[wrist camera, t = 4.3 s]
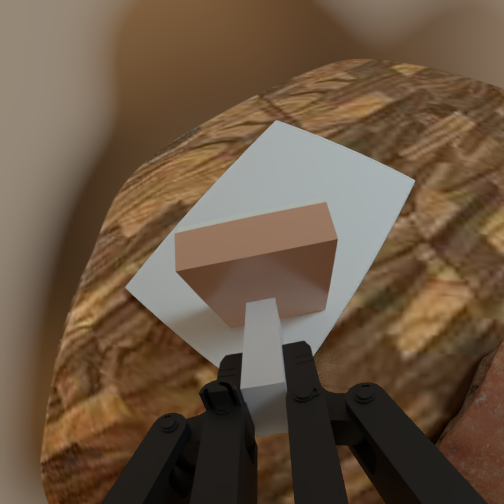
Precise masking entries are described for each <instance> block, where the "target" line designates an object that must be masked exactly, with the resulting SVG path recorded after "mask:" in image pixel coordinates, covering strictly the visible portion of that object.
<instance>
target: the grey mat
mask: <svg viewBox="0 0 504 504" xmlns="http://www.w3.org/2000/svg"><path fill="white" fill-rule="evenodd" d="M414 182H415V180H413V179H412V178H410V177H408V176H406V175H404V174H402V173H400V172H398V171H396V170H394V169H392V168H390V167H388V166H386V165H384V164H381V163H379V162H377V161H375V160H373V159H371V158H369V157H367V156H364V155H362V154H360V153H358V152H355V151H353V150H351V149H349V148H346V147H344V146H342V145H339V144H337V143H335V142H332V141H330V140H327V139H325V138H322V137H320V136H317V135H315V134H312V133H310V132H307V131H304V130H302V129H299V128H297V127H294V126H291V125H288V124H286V123H283V122H280V121H277V120H276V121H275V122H274V123H273V124H272V125H271V126H270V127H269V128H268V129H267V130H266V131H265V132H264V133H263V134H262V135H261V136H260V137H259V138H258V139H257V140H256V141H255V142H254V143H253V144H252V145H251V146H250V147H249V148H248V149H247V150H246V151H245V152H244V153H243V154H242V155H241V156H240V157H239V158H238V159H237V160H236V161H235V162H234V163H233V164H232V165H231V167H230V168H229V169H228V170H227V171H226V172H225V173H224V174H223V175H222V176H221V177H220V178H219V179H218V180H217V181H216V182H215V184H214V185H213V186H212V187H211V188H210V189H209V190H208V191H207V192H206V193H205V194H204V195H203V197H202V198H201V199H200V200H199V201H198V202H197V203H196V204H195V205H194V207H193V208H192V209H191V210H190V211H189V212H188V213H187V214H186V216H185V217H184V218H183V219H182V220H181V221H180V222H179V223H178V225H177V226H176V227H175V228H174V229H173V230H172V232H171V233H170V234H169V235H168V236H167V237H166V238H165V240H164V241H163V242H162V243H161V244H160V246H159V247H158V248H157V249H156V250H155V251H154V253H153V254H152V255H151V256H150V257H149V259H148V260H147V261H146V262H145V263H144V265H143V266H142V267H141V268H140V270H139V271H138V272H137V273H136V274H135V276H134V277H133V278H132V279H131V281H130V282H129V283H128V284H127V286H126V287H125V288H126V289H127V290H128V291H129V292H130V293H131V294H132V295H133V296H134V297H136V298H137V299H138V300H139V301H140V302H141V303H142V304H143V305H144V306H145V307H146V308H148V309H149V310H150V311H151V312H152V313H153V314H154V315H155V316H156V317H158V318H159V319H160V320H161V321H162V322H163V323H164V324H166V325H167V326H168V327H169V328H170V329H171V330H172V331H174V332H175V333H176V334H177V335H178V336H179V337H181V338H182V339H183V340H184V341H185V342H187V343H188V344H189V345H190V346H191V347H193V348H194V349H195V350H196V351H198V352H199V353H200V354H201V355H202V356H204V357H205V358H206V359H207V360H209V361H210V362H211V363H213V364H214V365H215V366H216V367H218V368H219V365H220V362H221V361H222V359H223V358H224V357H225V355H230V354H236V353H242V352H243V342H244V328H245V325H244V326H238V327H232V328H230V327H229V326H228V325H227V324H226V323H225V322H224V321H223V320H222V319H221V318H220V317H219V316H218V315H217V314H216V313H215V312H214V311H213V310H212V309H211V308H210V307H209V306H208V305H207V304H206V303H205V302H204V301H203V300H202V299H201V298H200V297H199V296H198V295H197V294H196V293H195V292H194V291H193V289H192V288H191V287H190V286H189V285H188V284H187V283H186V282H185V281H184V280H183V279H182V278H181V277H180V276H179V275H178V274H177V272H176V271H175V233H178V228H180V227H184V226H188V225H193V224H197V223H202V222H206V221H211V220H215V219H220V218H224V217H229V216H234V215H238V214H243V213H248V212H253V211H257V210H262V209H267V208H272V207H277V206H282V205H287V204H292V203H297V202H303V201H308V200H313V199H319V198H321V200H322V203H323V202H326V203H327V206H328V209H329V212H330V215H331V218H332V221H333V224H334V228H335V231H336V234H337V237H338V242H337V248H336V254H335V260H334V266H333V272H332V277H331V283H330V288H329V294H328V299H327V304H326V309H325V310H323V311H318V312H313V313H308V314H303V315H298V316H293V317H288V318H283V319H280V324H281V329H282V333H283V338H284V344H289V343H294V342H299V341H305V342H306V343H308V344H309V345H310V346H311V350H312V354H313V356H314V355H315V353H316V352H317V350H318V349H319V347H320V346H321V344H322V343H323V341H324V340H325V339H326V337H327V336H328V334H329V333H330V331H331V330H332V328H333V326H334V325H335V323H336V322H337V320H338V319H339V317H340V316H341V314H342V313H343V311H344V309H345V308H346V306H347V305H348V303H349V301H350V300H351V298H352V297H353V295H354V293H355V292H356V290H357V288H358V287H359V285H360V283H361V282H362V280H363V278H364V277H365V275H366V273H367V272H368V270H369V268H370V266H371V265H372V263H373V261H374V259H375V258H376V256H377V254H378V252H379V250H380V249H381V247H382V245H383V243H384V241H385V240H386V238H387V236H388V234H389V232H390V230H391V228H392V227H393V225H394V223H395V221H396V219H397V217H398V215H399V213H400V211H401V209H402V207H403V205H404V203H405V201H406V199H407V197H408V195H409V193H410V191H411V189H412V187H413V185H414Z"/></svg>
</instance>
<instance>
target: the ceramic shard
mask: <svg viewBox="0 0 504 504" xmlns="http://www.w3.org/2000/svg"><path fill="white" fill-rule="evenodd" d="M435 446H436V447H437V448H438V450H439V451H440V452H441V453H442V454H443V455H444V456H445V457H446V458H447V459H448V460H449V462H450V463H451V464H452V465H453V466H454V467H455V468H456V469H457V470H458V471H459V472H460V474H461V475H462V476H463V477H464V478H465V479H466V480H467V481H468V482H469V483H470V484H471V486H472V487H473V488H474V489H475V490H476V491H477V492H478V493H479V494H480V495H481V496H482V498H483V499H484V500H485V501H486V502H487V503H488V504H504V339H503V340H502V341H501V343H500V344H499V345H498V347H497V348H496V349H495V350H494V351H493V352H491V353H489V354H488V355H486V356H485V357H484V358H483V359H482V360H481V361H480V363H479V365H478V368H477V370H476V373H475V375H474V377H473V380H472V383H471V385H470V387H469V391H468V393H467V395H466V396H465V401H464V403H463V406H462V408H461V410H460V412H459V414H458V415H457V416H456V417H454V418H453V419H452V420H451V421H450V422H449V424H448V425H447V426H446V428H445V429H444V431H443V433H442V434H441V436H440V438H439V440H438V441H437V443H436V445H435Z"/></svg>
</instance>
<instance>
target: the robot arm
mask: <svg viewBox="0 0 504 504" xmlns="http://www.w3.org/2000/svg"><path fill="white" fill-rule="evenodd" d="M199 395H200V397H201V399H202V402H203V404H204V406H205V408H206V411H205V412H204V413H202V414H200V415H198V416H195V417H191V418H188V419H185V417H184V416H182V415H181V414H178V413H169V414H166V415H163V416H161V417H160V418H158V419H157V420H156V421H155V422H154V424H153V425H152V427H151V428H150V430H149V432H148V433H147V435H146V436H145V438H144V439H143V441H142V442H141V444H140V445H139V447H138V448H137V450H136V451H135V453H134V455H133V456H132V458H131V459H130V461H129V462H128V464H127V465H126V467H125V468H124V470H123V471H122V473H121V474H120V476H119V477H118V479H117V481H116V482H115V484H114V485H113V487H112V488H111V490H110V491H109V493H108V494H107V496H106V497H105V499H104V500H103V502H102V503H101V504H257V444H256V441H255V432H256V435H257V436H265V435H272V434H279V433H285V432H289V443H290V454H291V465H292V477H293V489H294V501H295V504H348V499H347V494H346V490H345V485H344V480H343V475H342V471H341V466H340V462H339V457H338V453H337V448H336V445H348V447H349V448H350V450H351V452H352V453H353V455H354V456H355V458H356V459H357V461H358V462H359V464H360V465H361V467H362V468H363V470H364V472H365V473H366V475H367V476H368V478H369V479H370V481H371V482H372V484H373V485H374V487H375V488H376V490H377V491H378V493H379V494H380V496H381V497H382V499H383V500H384V502H385V503H386V504H488V503H487V502H486V501H485V500H484V499H483V498H482V496H481V495H480V494H479V493H478V492H477V491H476V490H475V489H474V488H473V487H472V486H471V484H470V483H469V482H468V481H467V480H466V479H465V478H464V477H463V476H462V475H461V474H460V472H459V471H458V470H457V469H456V468H455V467H454V466H453V465H452V464H451V463H450V462H449V460H448V459H447V458H446V457H445V456H444V455H443V454H442V453H441V452H440V451H439V450H438V448H437V447H436V446H435V445H434V444H433V443H432V442H431V441H430V440H429V439H428V438H427V436H426V435H425V434H424V433H423V432H422V431H421V430H420V429H419V428H418V427H417V426H416V424H415V423H414V422H413V421H412V420H411V419H410V418H409V417H408V416H407V415H406V414H405V413H404V411H403V410H402V409H401V408H400V407H399V406H398V405H397V404H396V403H395V402H394V401H393V400H392V398H391V397H390V396H389V395H388V394H387V393H386V392H385V391H384V390H383V389H382V388H381V387H380V386H378V385H377V384H374V383H360V384H357V385H355V386H353V387H352V388H350V389H349V391H348V392H347V393H332V392H329V391H327V390H325V389H324V388H323V387H322V386H321V384H320V382H319V378H318V374H317V370H316V366H315V362H314V358H313V354H312V350H311V346H310V345H309V344H308V343H306V342H305V341H299V342H294V343H289V344H284V338H283V333H282V329H281V324H280V319H279V314H278V310H277V305H276V300H275V297H274V298H269V299H264V300H259V301H254V302H248V303H246V313H245V328H244V342H243V352H242V353H236V354H230V355H225V357H224V358H223V359H222V361H221V362H220V365H219V372H218V378H217V380H215V381H212V382H210V383H208V384H206V385H205V386H204V387H203V388H202V389H201V390H200V392H199Z"/></svg>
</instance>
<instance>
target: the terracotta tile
mask: <svg viewBox="0 0 504 504" xmlns="http://www.w3.org/2000/svg"><path fill="white" fill-rule="evenodd" d="M337 242H338V237H337V234H336V231H335V228H334V224H333V221H332V218H331V215H330V212H329V209H328V206H327V203H326V202H323V203H322V200H321V198H319V199H313V200H308V201H303V202H297V203H292V204H287V205H282V206H277V207H272V208H267V209H262V210H257V211H253V212H248V213H243V214H238V215H234V216H229V217H224V218H220V219H215V220H211V221H206V222H202V223H197V224H193V225H188V226H184V227H180V228H178V233H175V271H176V272H177V274H178V275H179V276H180V277H181V278H182V279H183V280H184V281H185V282H186V283H187V284H188V285H189V286H190V287H191V288H192V289H193V291H194V292H195V293H196V294H197V295H198V296H199V297H200V298H201V299H202V300H203V301H204V302H205V303H206V304H207V305H208V306H209V307H210V308H211V309H212V310H213V311H214V312H215V313H216V314H217V315H218V316H219V317H220V318H221V319H222V320H223V321H224V322H225V323H226V324H227V325H228V326H229V327H230V328H232V327H238V326H244V325H245V313H246V303H248V302H254V301H259V300H264V299H269V298H274V297H275V300H276V305H277V310H278V314H279V319H283V318H288V317H293V316H298V315H303V314H308V313H313V312H318V311H323V310H325V309H326V304H327V299H328V294H329V288H330V283H331V277H332V272H333V266H334V260H335V254H336V248H337Z"/></svg>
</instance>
